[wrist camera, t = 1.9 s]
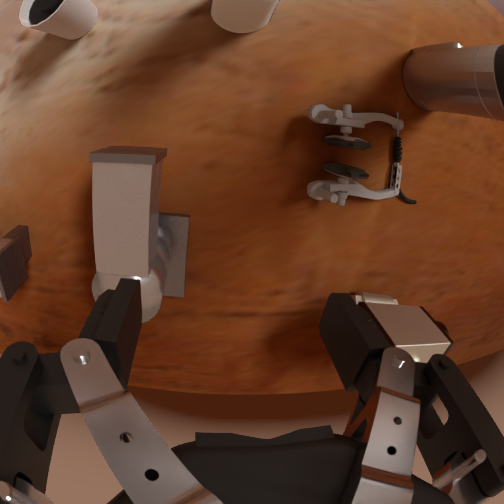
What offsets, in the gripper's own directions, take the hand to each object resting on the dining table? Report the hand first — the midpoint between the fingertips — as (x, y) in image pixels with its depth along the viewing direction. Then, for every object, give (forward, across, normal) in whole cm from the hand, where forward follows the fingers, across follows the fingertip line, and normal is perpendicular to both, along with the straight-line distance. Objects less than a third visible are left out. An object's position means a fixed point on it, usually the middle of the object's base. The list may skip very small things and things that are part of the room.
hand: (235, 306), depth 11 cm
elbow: (+21, +9, +6) cm, 24 cm away
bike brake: (+27, -19, -6) cm, 33 cm away
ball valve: (+26, -27, +18) cm, 41 cm away
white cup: (+26, +22, -21) cm, 40 cm away
